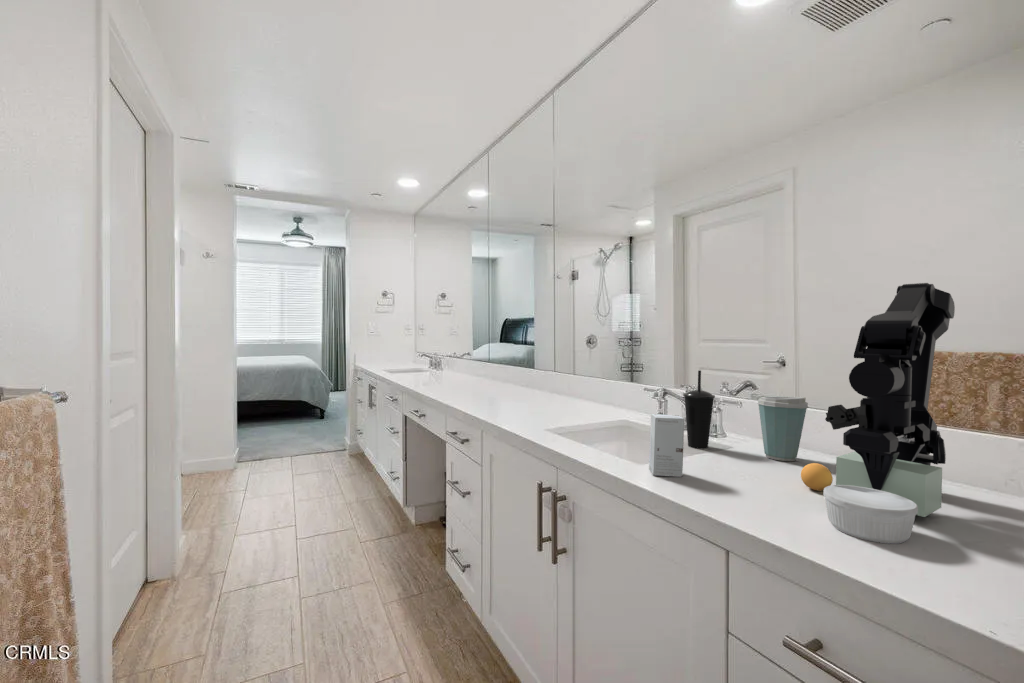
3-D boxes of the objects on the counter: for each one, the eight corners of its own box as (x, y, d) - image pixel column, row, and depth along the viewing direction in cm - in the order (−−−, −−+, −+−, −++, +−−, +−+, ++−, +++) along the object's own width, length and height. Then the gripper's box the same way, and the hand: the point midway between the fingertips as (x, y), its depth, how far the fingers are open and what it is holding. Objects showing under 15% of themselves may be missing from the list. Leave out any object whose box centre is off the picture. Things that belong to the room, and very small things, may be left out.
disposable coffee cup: (748, 457, 109) (750, 395, 109) (765, 450, 117) (766, 391, 117) (799, 466, 102) (800, 400, 101) (813, 458, 109) (814, 396, 109)
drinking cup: (717, 451, 115) (718, 372, 115) (685, 449, 116) (686, 371, 116) (710, 444, 122) (711, 370, 122) (680, 442, 124) (681, 369, 124)
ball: (808, 484, 90) (809, 458, 89) (837, 491, 85) (838, 465, 85) (795, 488, 87) (795, 462, 87) (824, 496, 83) (824, 468, 83)
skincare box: (653, 476, 93) (654, 417, 93) (648, 469, 97) (649, 413, 97) (684, 477, 93) (685, 418, 92) (677, 470, 97) (678, 414, 97)
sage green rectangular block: (854, 486, 84) (855, 451, 84) (941, 507, 74) (942, 467, 74) (835, 493, 80) (836, 456, 80) (924, 517, 70) (925, 474, 70)
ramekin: (889, 520, 72) (890, 487, 72) (937, 552, 61) (938, 514, 61) (810, 513, 75) (811, 481, 75) (843, 543, 64) (844, 505, 64)
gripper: (856, 386, 88) (854, 465, 89) (809, 391, 78) (807, 481, 79) (931, 392, 79) (929, 481, 79) (889, 399, 69) (887, 501, 69)
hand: (886, 485), depth 77 cm, fingers closed on sage green rectangular block, 8 cm apart
